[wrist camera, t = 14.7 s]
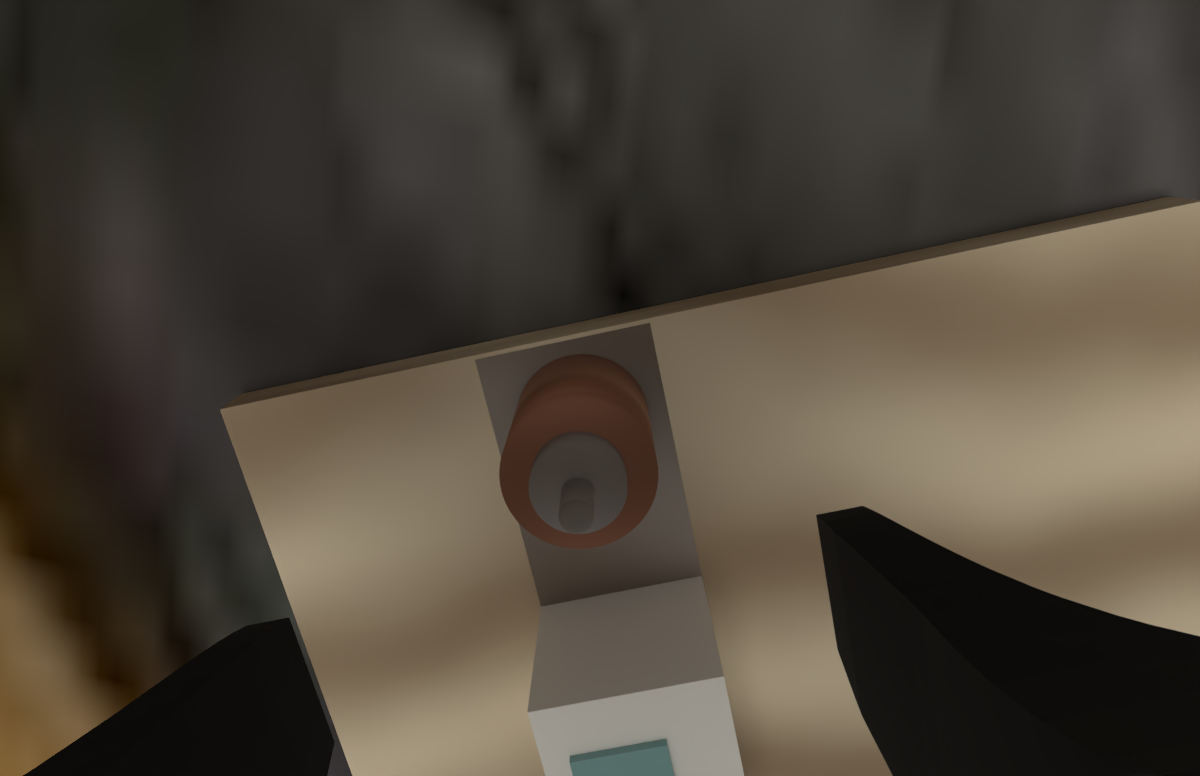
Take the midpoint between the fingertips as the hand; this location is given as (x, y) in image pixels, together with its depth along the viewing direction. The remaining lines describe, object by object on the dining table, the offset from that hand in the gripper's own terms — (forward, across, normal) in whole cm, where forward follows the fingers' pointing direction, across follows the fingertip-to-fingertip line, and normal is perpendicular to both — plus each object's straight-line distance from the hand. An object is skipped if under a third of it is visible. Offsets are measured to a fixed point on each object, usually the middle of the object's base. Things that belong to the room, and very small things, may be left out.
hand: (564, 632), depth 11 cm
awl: (+9, 0, 0) cm, 9 cm away
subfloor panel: (+10, -3, +5) cm, 11 cm away
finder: (+9, 0, +8) cm, 11 cm away
